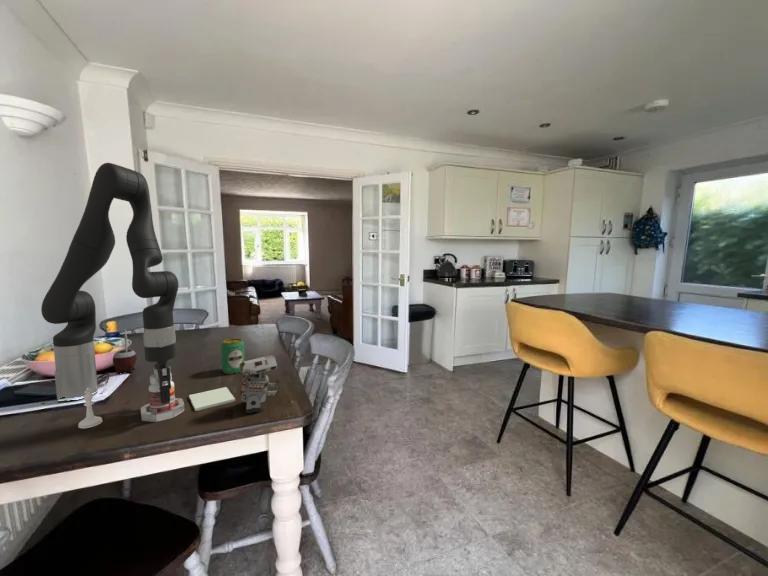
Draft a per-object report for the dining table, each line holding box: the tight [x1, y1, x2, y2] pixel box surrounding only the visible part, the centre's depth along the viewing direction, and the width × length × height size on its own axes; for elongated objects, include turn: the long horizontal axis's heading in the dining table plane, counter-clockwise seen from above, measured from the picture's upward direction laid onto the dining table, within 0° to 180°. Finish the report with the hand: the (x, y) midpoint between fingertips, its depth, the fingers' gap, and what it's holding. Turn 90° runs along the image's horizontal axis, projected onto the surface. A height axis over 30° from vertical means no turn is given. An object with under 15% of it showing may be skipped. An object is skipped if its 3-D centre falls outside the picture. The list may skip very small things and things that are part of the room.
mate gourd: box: [112, 329, 138, 375], centre depth 126 cm, size 8×8×15 cm
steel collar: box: [140, 397, 185, 423], centre depth 96 cm, size 10×10×2 cm
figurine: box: [239, 354, 281, 414], centre depth 101 cm, size 9×12×15 cm
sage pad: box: [188, 386, 236, 412], centre depth 105 cm, size 11×11×1 cm
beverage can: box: [220, 337, 246, 375], centre depth 129 cm, size 8×8×12 cm
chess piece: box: [77, 388, 103, 429], centre depth 89 cm, size 5×5×10 cm
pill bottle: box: [148, 373, 176, 413], centre depth 96 cm, size 6×6×11 cm
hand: (163, 396), depth 96 cm, fingers open, 8 cm apart
